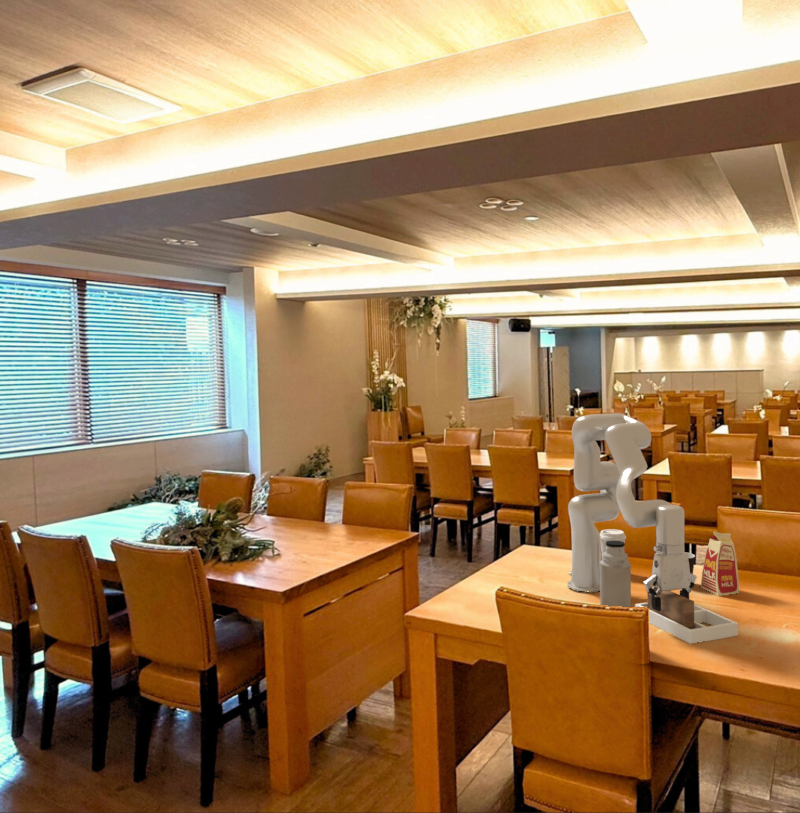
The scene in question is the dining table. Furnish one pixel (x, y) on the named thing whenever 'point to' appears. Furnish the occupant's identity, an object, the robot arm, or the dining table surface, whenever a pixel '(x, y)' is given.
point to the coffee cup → (611, 537)
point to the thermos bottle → (615, 576)
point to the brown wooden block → (675, 608)
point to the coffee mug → (691, 561)
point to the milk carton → (720, 566)
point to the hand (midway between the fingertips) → (670, 607)
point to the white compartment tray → (695, 625)
